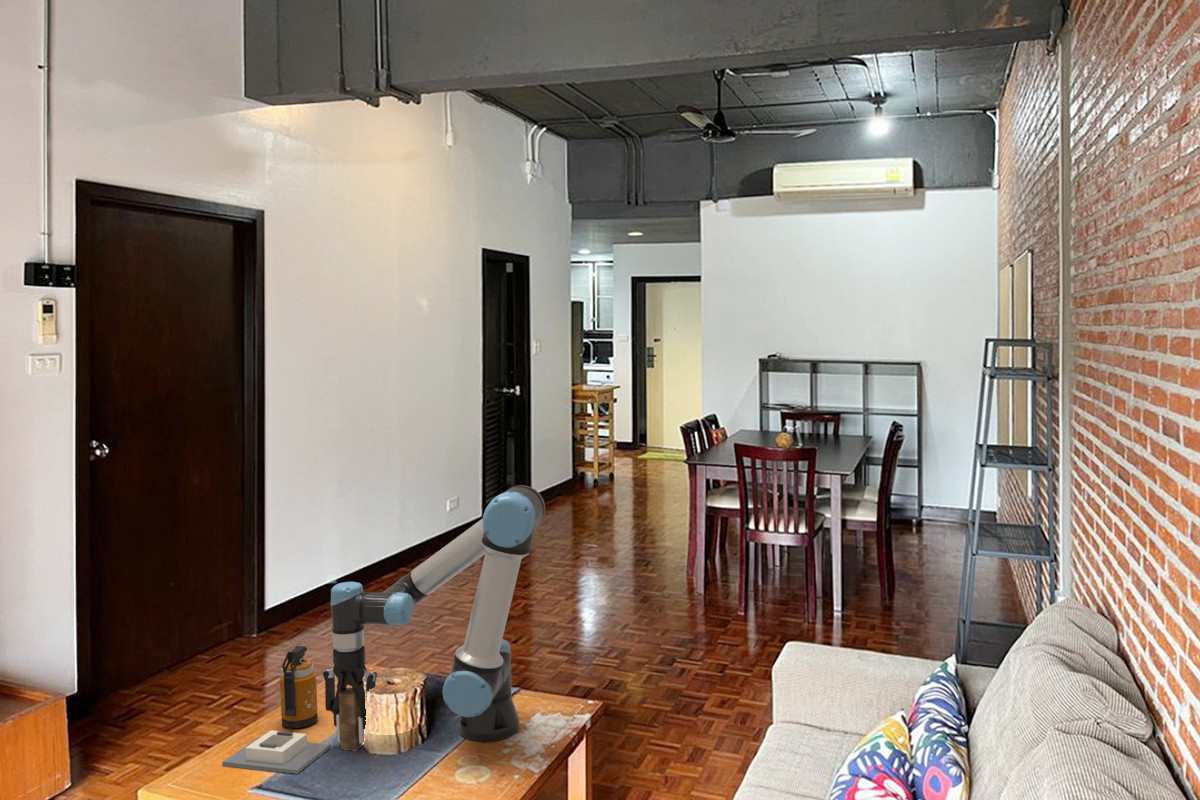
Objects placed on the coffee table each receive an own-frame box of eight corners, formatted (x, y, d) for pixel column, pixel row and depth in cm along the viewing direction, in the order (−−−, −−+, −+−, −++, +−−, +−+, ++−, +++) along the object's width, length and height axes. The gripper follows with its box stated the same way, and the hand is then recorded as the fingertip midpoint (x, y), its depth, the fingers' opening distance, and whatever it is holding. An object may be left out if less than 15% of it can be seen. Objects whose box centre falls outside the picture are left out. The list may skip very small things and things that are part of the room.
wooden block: (364, 744, 231) (362, 688, 230) (355, 751, 227) (353, 694, 226) (349, 742, 232) (347, 687, 231) (341, 749, 228) (338, 693, 227)
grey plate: (330, 748, 229) (329, 730, 229) (297, 774, 216) (296, 755, 215) (259, 740, 234) (258, 722, 234) (222, 765, 221) (221, 746, 220)
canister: (323, 716, 249) (320, 642, 247) (306, 733, 238) (302, 656, 237) (290, 715, 250) (287, 642, 248) (272, 733, 239) (268, 656, 237)
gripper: (390, 644, 229) (393, 737, 231) (323, 639, 234) (327, 730, 236) (375, 654, 222) (378, 750, 223) (306, 649, 227) (310, 742, 228)
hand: (352, 739), depth 229 cm, fingers open, 5 cm apart
